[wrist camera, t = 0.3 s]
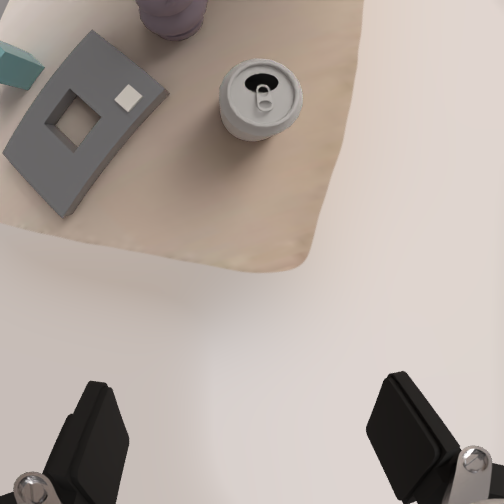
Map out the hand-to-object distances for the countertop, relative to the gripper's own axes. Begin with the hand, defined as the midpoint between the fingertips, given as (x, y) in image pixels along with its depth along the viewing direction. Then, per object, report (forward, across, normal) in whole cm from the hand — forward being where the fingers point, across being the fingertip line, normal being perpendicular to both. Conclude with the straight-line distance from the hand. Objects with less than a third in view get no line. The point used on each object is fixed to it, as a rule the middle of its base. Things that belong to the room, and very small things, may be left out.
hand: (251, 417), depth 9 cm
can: (+31, -2, -14) cm, 34 cm away
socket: (+31, +20, -14) cm, 39 cm away
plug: (+31, +30, -23) cm, 49 cm away
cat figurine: (+31, +7, -27) cm, 41 cm away
